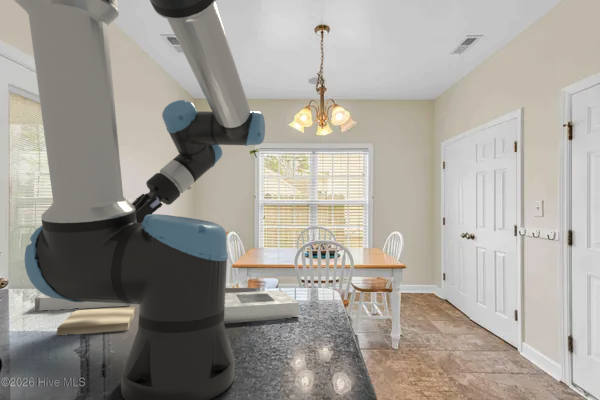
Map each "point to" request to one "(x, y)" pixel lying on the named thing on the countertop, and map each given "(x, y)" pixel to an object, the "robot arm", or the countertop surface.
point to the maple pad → (97, 321)
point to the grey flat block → (259, 306)
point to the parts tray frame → (68, 304)
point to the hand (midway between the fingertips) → (87, 255)
